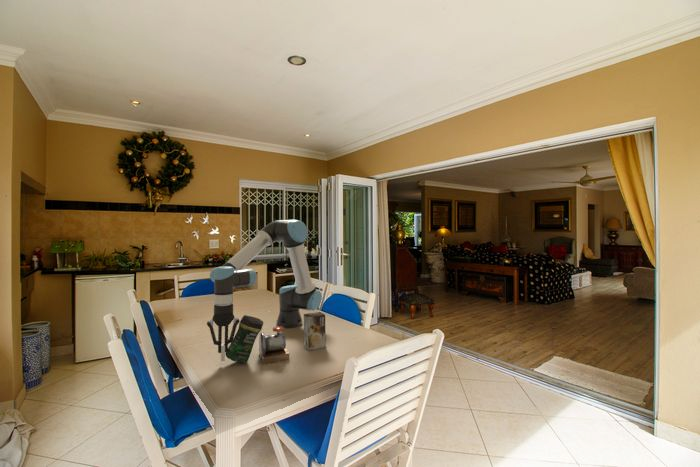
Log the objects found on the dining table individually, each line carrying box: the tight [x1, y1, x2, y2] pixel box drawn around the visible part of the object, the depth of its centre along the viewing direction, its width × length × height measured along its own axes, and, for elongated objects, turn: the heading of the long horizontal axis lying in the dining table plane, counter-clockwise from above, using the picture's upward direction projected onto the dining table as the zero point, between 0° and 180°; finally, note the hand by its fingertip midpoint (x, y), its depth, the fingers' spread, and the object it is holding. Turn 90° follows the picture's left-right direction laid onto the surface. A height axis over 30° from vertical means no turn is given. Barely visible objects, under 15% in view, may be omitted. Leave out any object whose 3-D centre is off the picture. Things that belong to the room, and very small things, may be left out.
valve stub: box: [258, 325, 290, 365], centre depth 142 cm, size 11×12×13 cm
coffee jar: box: [225, 314, 264, 363], centre depth 136 cm, size 10×8×19 cm
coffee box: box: [303, 311, 327, 351], centre depth 154 cm, size 9×6×16 cm
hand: (222, 360), depth 133 cm, fingers closed
